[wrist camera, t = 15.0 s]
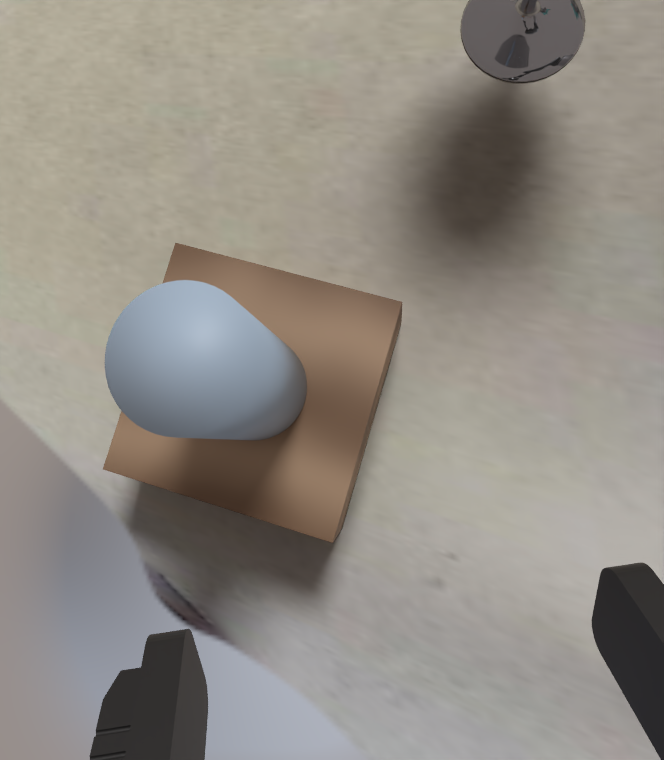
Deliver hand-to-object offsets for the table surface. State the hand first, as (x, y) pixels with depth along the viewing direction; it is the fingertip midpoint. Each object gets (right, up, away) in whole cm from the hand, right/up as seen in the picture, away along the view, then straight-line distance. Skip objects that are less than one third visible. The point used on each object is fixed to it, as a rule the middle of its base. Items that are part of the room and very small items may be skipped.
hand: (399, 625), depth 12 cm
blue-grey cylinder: (-5, +4, +18) cm, 19 cm away
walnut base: (-5, +4, +23) cm, 24 cm away
